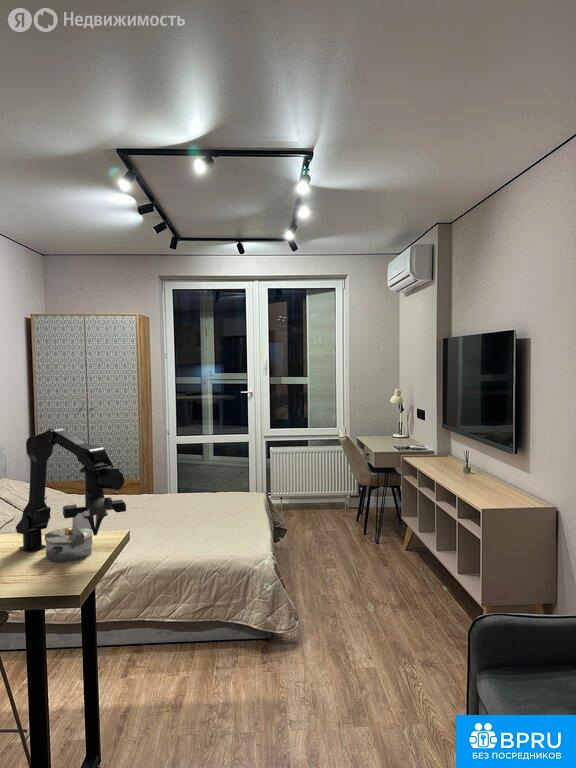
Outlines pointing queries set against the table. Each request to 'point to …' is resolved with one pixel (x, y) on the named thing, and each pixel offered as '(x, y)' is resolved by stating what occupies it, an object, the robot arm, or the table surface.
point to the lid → (69, 535)
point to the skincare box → (81, 522)
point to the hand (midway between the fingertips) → (95, 535)
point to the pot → (68, 551)
